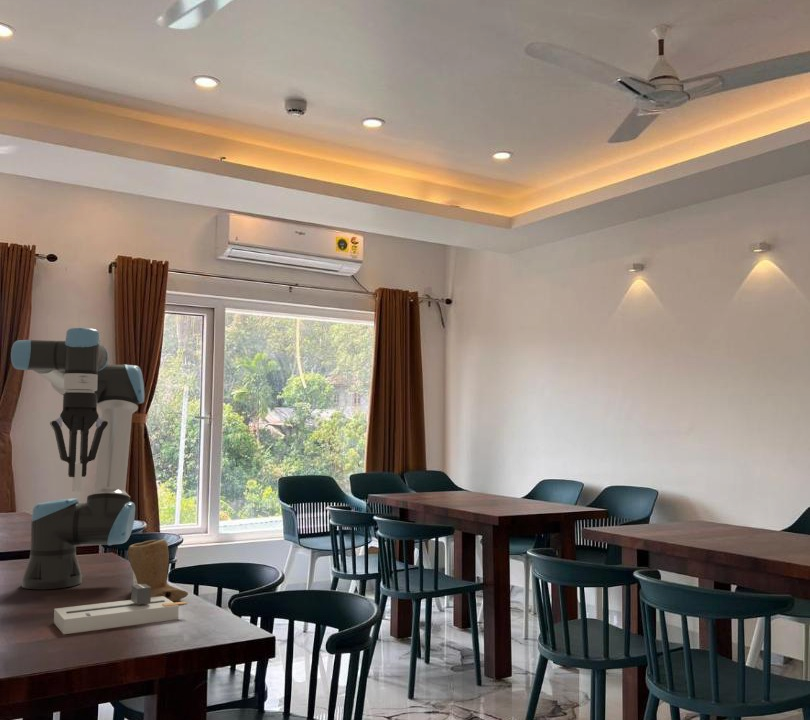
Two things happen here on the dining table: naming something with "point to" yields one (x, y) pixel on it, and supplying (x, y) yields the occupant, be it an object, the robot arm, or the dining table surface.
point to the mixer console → (114, 614)
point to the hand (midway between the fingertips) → (76, 490)
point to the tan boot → (153, 568)
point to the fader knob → (141, 594)
